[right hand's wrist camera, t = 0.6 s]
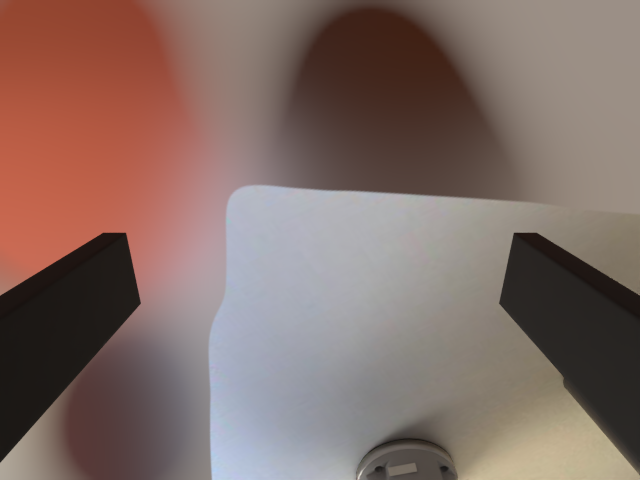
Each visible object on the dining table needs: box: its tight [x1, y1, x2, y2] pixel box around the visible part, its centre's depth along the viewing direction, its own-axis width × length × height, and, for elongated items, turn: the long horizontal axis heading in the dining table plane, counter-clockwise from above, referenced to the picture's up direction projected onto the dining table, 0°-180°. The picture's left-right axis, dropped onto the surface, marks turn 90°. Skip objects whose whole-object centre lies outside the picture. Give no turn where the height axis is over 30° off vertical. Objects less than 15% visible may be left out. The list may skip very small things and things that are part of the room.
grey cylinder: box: [563, 379, 640, 475], centre depth 42 cm, size 4×4×16 cm
